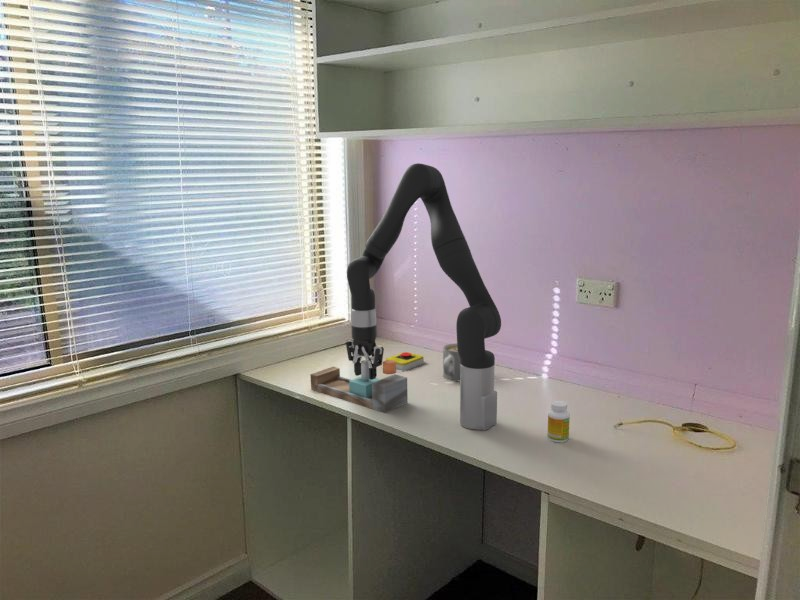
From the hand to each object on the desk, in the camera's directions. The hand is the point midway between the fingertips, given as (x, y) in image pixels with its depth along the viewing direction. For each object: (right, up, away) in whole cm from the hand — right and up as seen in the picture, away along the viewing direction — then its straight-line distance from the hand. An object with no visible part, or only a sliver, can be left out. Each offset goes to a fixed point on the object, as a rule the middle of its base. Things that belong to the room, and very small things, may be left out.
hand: (365, 376), depth 201 cm
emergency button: (+12, 0, +34) cm, 36 cm away
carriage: (0, -5, +1) cm, 5 cm away
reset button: (+8, +2, -7) cm, 11 cm away
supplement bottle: (+52, -13, -29) cm, 61 cm away
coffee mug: (+29, -3, +20) cm, 35 cm away
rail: (-3, -6, +4) cm, 8 cm away
